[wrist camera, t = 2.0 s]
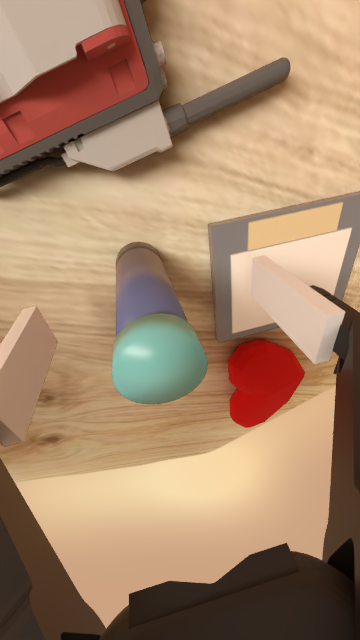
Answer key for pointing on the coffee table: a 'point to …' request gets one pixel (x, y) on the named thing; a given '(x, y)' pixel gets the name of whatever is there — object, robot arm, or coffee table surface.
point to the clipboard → (281, 256)
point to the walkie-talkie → (93, 86)
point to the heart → (261, 380)
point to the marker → (152, 332)
